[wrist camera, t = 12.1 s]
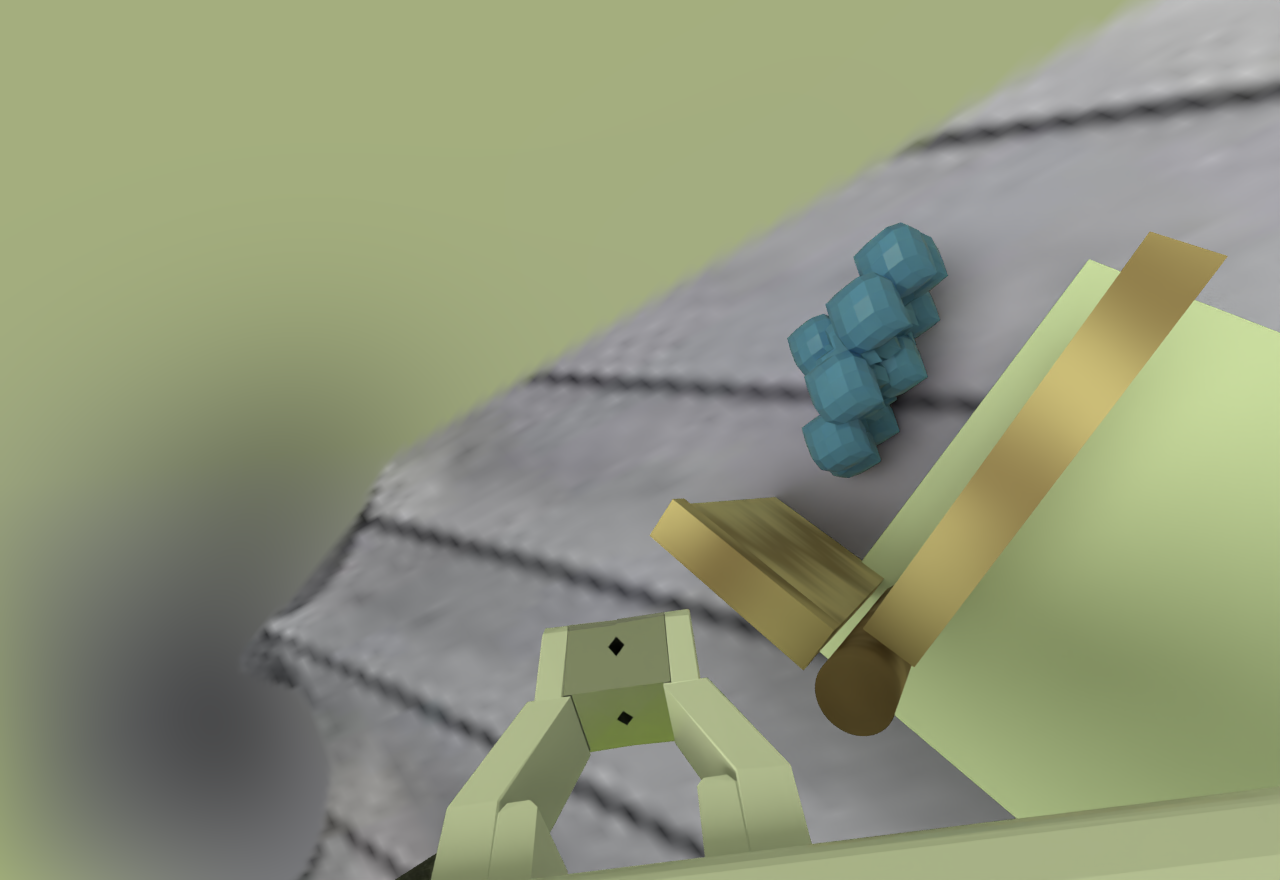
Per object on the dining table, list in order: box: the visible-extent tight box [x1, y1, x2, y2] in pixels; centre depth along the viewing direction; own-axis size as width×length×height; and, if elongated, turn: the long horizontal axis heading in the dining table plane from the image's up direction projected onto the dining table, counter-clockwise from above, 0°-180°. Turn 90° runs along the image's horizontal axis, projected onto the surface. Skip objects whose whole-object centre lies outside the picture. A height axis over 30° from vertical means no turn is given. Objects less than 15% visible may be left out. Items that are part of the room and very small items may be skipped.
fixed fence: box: [650, 497, 912, 736], centre depth 26 cm, size 10×2×15 cm, turn 55°
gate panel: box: [863, 232, 1227, 667], centre depth 22 cm, size 14×2×13 cm, turn 147°
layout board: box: [820, 260, 1280, 819], centre depth 26 cm, size 18×24×1 cm
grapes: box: [787, 223, 948, 478], centre depth 27 cm, size 12×7×12 cm, turn 158°
